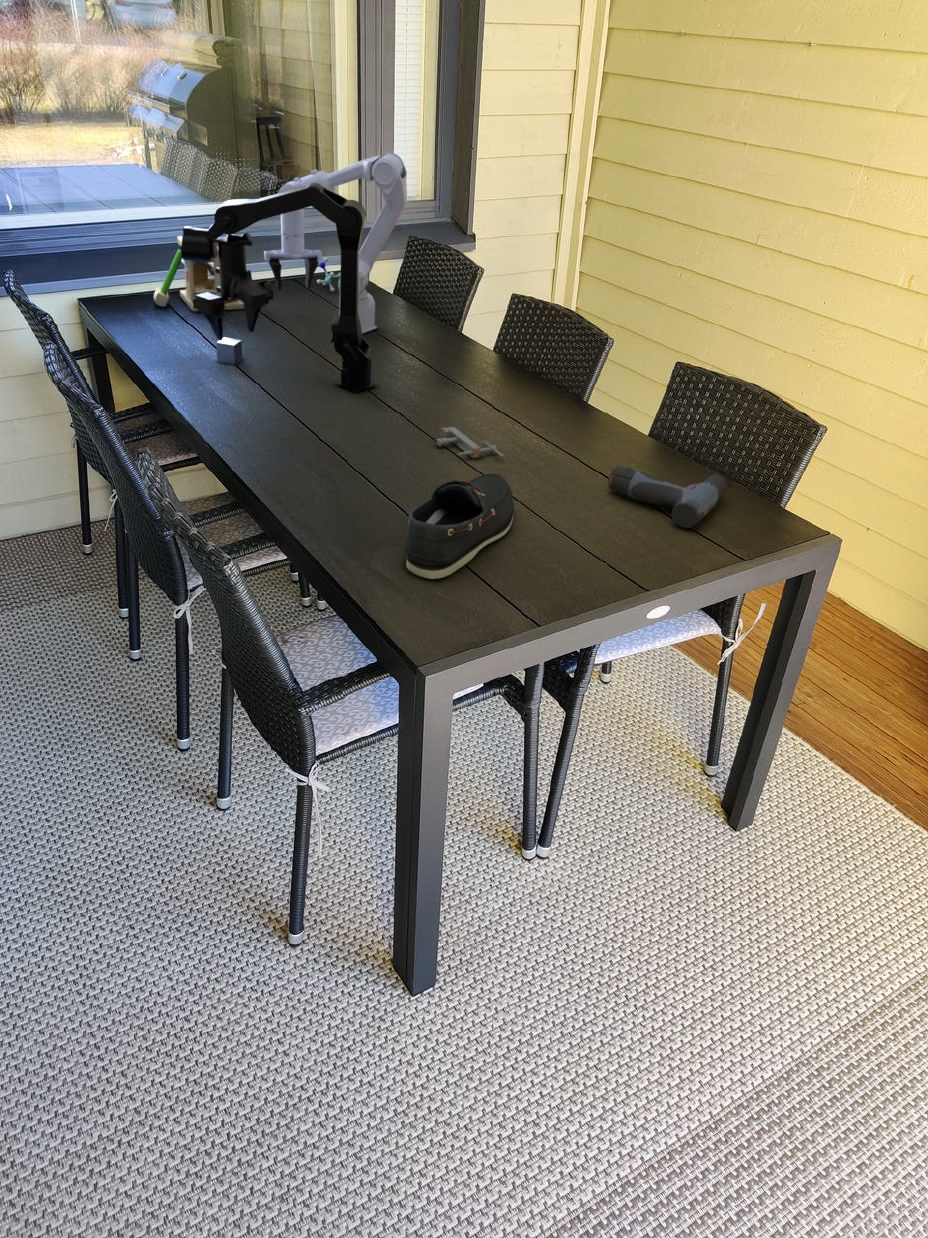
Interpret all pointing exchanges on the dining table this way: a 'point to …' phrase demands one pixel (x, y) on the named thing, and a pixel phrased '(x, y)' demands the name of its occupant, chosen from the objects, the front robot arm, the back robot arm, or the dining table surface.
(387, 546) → the dining table surface
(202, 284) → the pounding bench toy
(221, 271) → the front robot arm
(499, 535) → the boat shoe
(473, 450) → the clamp
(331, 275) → the molecular model
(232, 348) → the metal block
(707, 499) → the power drill
